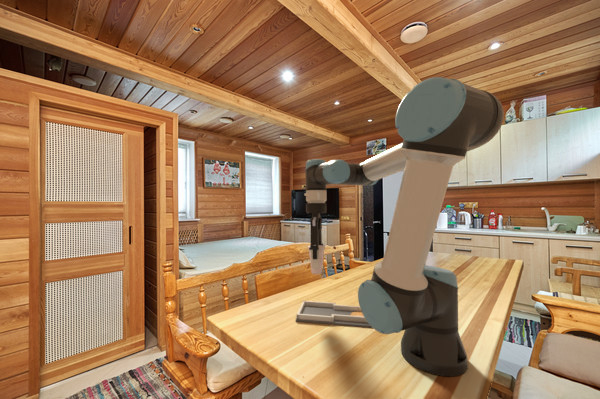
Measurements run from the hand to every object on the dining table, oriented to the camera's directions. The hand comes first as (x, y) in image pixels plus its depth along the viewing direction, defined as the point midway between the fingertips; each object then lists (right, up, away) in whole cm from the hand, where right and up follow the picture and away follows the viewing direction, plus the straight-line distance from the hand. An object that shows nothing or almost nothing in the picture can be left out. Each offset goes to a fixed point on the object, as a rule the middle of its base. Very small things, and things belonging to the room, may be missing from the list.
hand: (316, 265), depth 91 cm
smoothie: (0, -3, 0) cm, 3 cm away
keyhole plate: (+7, -17, -2) cm, 19 cm away
